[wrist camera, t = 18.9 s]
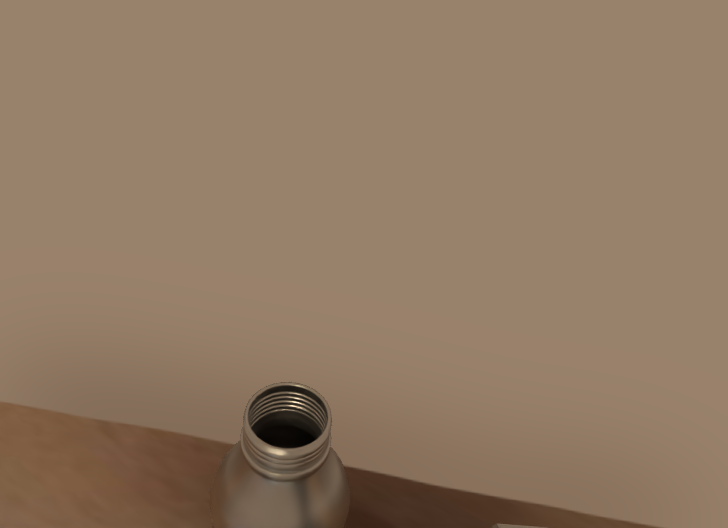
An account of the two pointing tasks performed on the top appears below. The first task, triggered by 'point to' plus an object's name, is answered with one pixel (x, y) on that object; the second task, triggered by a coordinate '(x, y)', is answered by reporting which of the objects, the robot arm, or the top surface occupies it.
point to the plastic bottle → (282, 466)
